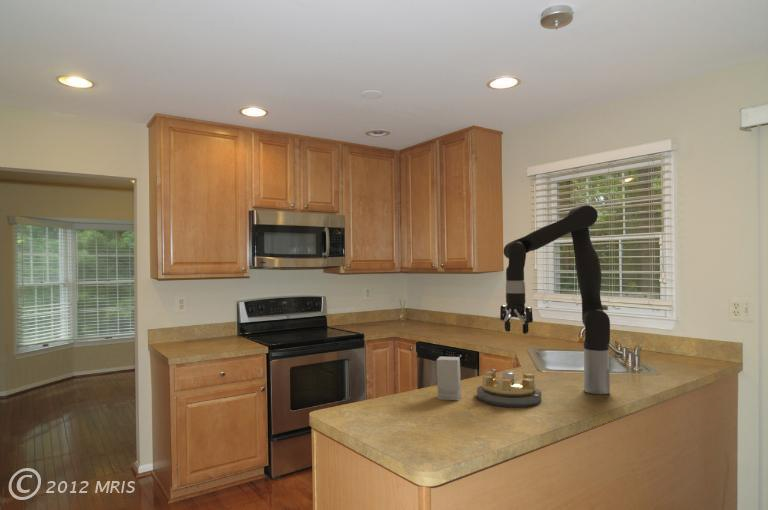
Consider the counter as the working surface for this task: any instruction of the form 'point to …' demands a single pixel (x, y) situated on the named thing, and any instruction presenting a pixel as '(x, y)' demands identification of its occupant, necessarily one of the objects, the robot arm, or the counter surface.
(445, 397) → the skincare box
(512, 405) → the housing
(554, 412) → the counter surface
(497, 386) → the brass lugged disc
